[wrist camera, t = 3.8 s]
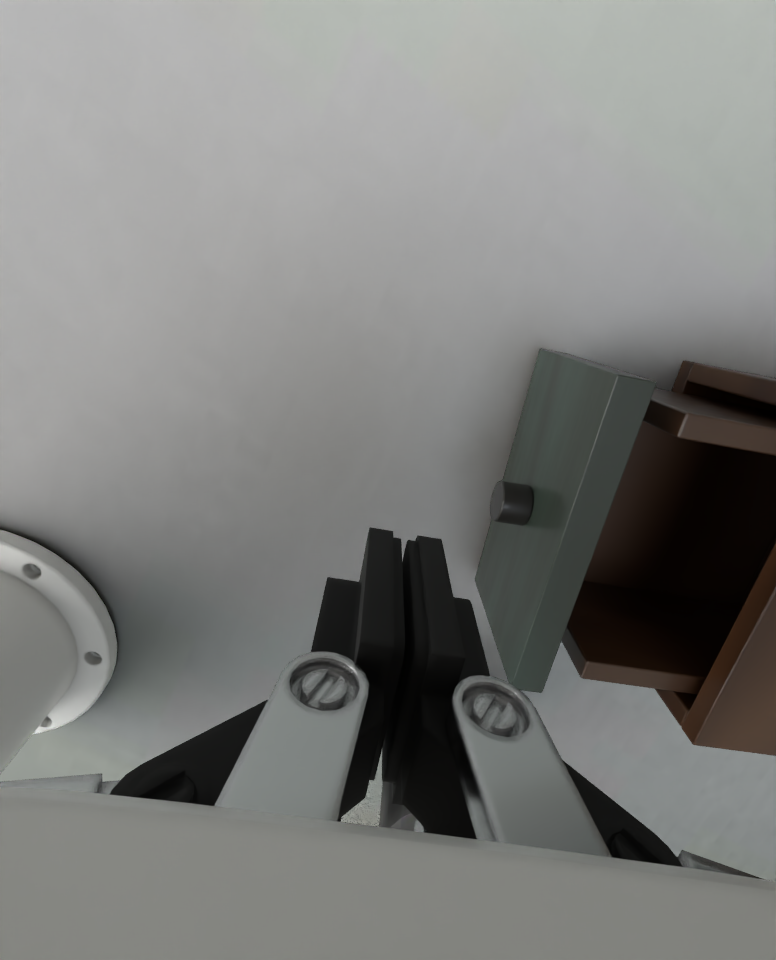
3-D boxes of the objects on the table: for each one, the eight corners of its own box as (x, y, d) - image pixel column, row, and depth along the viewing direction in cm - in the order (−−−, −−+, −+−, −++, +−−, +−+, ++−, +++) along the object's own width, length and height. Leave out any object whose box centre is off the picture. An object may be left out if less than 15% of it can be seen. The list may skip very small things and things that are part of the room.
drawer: (450, 576, 25) (478, 685, 18) (511, 342, 21) (576, 366, 14) (726, 618, 26) (851, 735, 19) (833, 404, 22) (1041, 454, 15)
